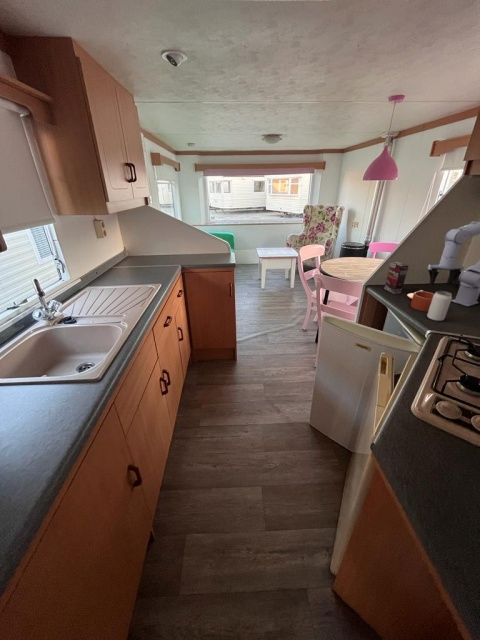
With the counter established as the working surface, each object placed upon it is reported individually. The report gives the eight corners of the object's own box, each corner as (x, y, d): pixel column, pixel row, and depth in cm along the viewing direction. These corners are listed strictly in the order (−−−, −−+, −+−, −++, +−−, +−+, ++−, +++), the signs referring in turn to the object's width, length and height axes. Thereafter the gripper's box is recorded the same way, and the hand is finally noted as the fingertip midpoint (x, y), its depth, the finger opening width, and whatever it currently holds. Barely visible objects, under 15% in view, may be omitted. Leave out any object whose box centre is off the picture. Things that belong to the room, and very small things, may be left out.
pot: (418, 302, 136) (422, 290, 133) (439, 309, 128) (444, 296, 125) (405, 305, 132) (409, 293, 129) (426, 313, 124) (430, 300, 121)
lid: (415, 293, 147) (417, 285, 145) (436, 300, 138) (438, 291, 136) (402, 297, 143) (404, 289, 141) (423, 304, 134) (425, 295, 132)
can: (446, 321, 116) (456, 296, 110) (430, 320, 117) (438, 295, 112) (439, 315, 121) (448, 290, 116) (424, 314, 123) (432, 290, 117)
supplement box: (383, 289, 154) (390, 262, 147) (391, 288, 155) (397, 261, 148) (393, 294, 147) (401, 265, 140) (401, 293, 147) (409, 265, 140)
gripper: (461, 254, 126) (451, 282, 132) (428, 254, 128) (420, 281, 133) (470, 258, 119) (460, 286, 125) (435, 257, 121) (427, 285, 127)
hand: (440, 284), depth 129 cm, fingers open, 7 cm apart
